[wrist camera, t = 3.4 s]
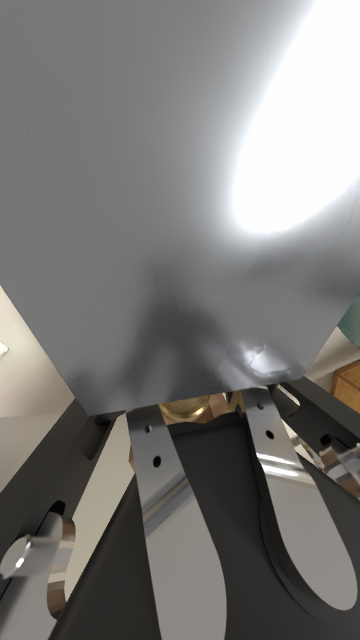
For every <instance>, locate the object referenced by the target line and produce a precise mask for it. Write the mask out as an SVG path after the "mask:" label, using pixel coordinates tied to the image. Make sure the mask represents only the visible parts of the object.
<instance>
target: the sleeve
mask: <svg viewBox="0 0 360 640" xmlns="http://www.w3.org/2000/svg"><path fill="white" fill-rule="evenodd" d="M0 285H1V287H2V288H3V290H4V291H5V293H6V294H7V296H8V297H9V299H10V300H11V302H12V303H13V305H14V306H15V308H16V309H17V311H18V312H19V314H20V315H21V317H22V318H23V320H24V321H25V322H26V324H27V325H28V327H29V328H30V330H31V331H32V333H33V334H34V336H35V337H36V339H37V340H38V342H39V343H40V345H41V346H42V348H43V349H44V351H45V352H46V354H47V355H48V357H49V358H50V360H51V361H52V363H53V364H54V366H55V367H56V369H57V370H58V372H59V373H60V375H61V376H62V378H63V379H64V381H65V382H66V384H67V385H68V386H69V388H70V389H71V391H72V392H73V394H74V395H75V397H76V398H77V400H78V401H79V403H80V404H81V406H82V407H83V409H84V410H85V412H86V413H87V415H88V416H93V415H99V414H104V413H110V412H116V411H121V410H127V409H133V408H139V407H144V406H150V405H156V404H161V403H167V402H173V401H178V400H184V399H190V398H196V397H201V396H207V395H213V394H218V393H224V392H230V391H236V390H241V389H247V388H253V387H258V386H264V385H270V384H275V383H281V382H287V381H293V380H298V379H301V378H302V377H303V375H304V374H305V372H306V371H307V369H308V368H309V366H310V365H311V363H312V362H313V360H314V359H315V357H316V356H317V354H318V353H319V351H320V350H321V348H322V347H323V345H324V344H325V342H326V341H327V339H328V338H329V336H330V335H331V333H332V332H333V330H334V329H335V327H336V326H337V324H338V323H339V321H340V320H341V318H342V317H343V315H344V314H345V312H346V311H347V309H348V308H349V306H350V305H351V303H352V302H353V301H354V299H355V298H356V296H357V295H358V293H359V292H360V0H0Z"/></svg>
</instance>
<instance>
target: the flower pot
mask: <svg viewBox="0 0 360 640" xmlns="http://www.w3.org/2000/svg"><path fill="white" fill-rule="evenodd" d="M337 326H338V328H339V329H340V330H341V331H342V333H343V334H344V335H345V336H346V337H347V338H348V339H349V340H350V341H351V342H352V343H353V344H355V345H356V346H357V347H358V348H360V292H359V293H358V295H357V296H356V298H355V299H354V301H353V302H352V303H351V305H350V306H349V308H348V309H347V311H346V312H345V314H344V315H343V317H342V318H341V320H340V321H339V323H338V324H337Z"/></svg>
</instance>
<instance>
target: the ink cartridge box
mask: <svg viewBox="0 0 360 640" xmlns="http://www.w3.org/2000/svg"><path fill="white" fill-rule="evenodd" d="M7 351H8V347H7V346H6V345H4V344H3V343H2V342H0V357H1V356H2V355H3V354H4V353H6V352H7Z"/></svg>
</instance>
